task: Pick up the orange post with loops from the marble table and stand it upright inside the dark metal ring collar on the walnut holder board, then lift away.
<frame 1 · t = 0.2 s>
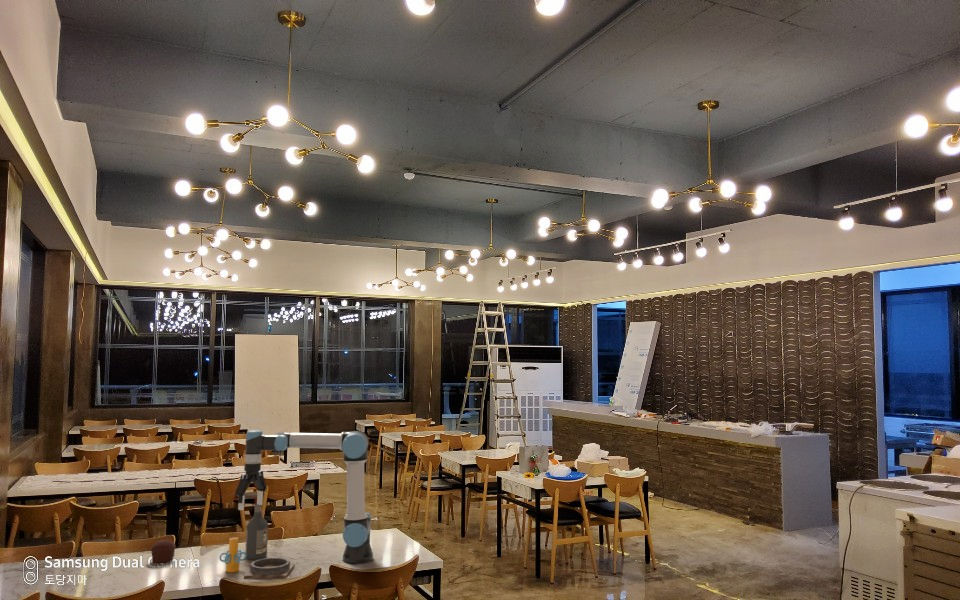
hand: (250, 507, 328), 29 cm above the table, fingers open, 13 cm apart
holder: (269, 571, 320), on the table
orange post with loops: (232, 571, 321), on the table
liquor: (256, 557, 344), on the table
muffin: (162, 561, 335), on the table
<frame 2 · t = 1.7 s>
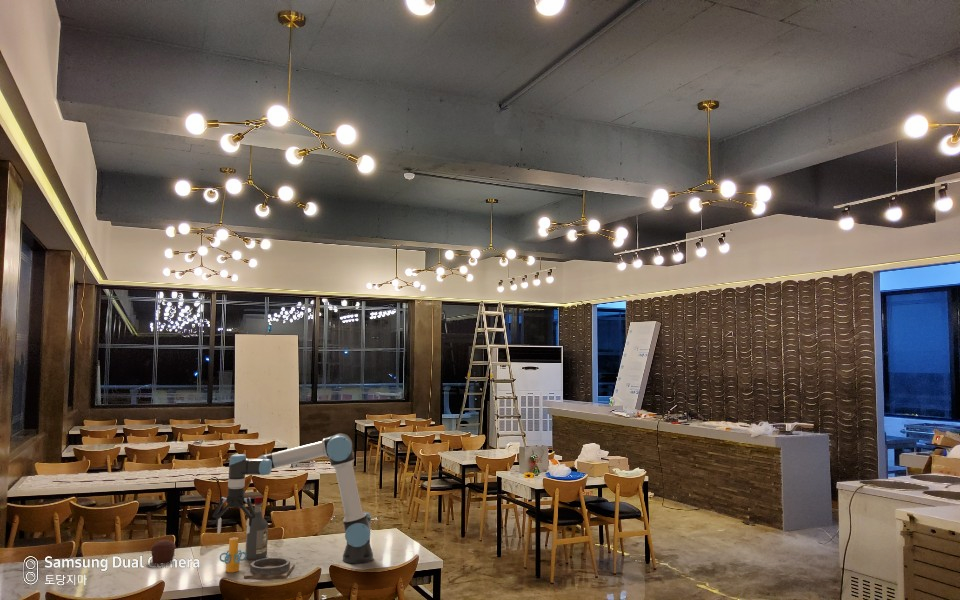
hand: (233, 532, 323), 18 cm above the table, fingers open, 13 cm apart
nothing on the table moved.
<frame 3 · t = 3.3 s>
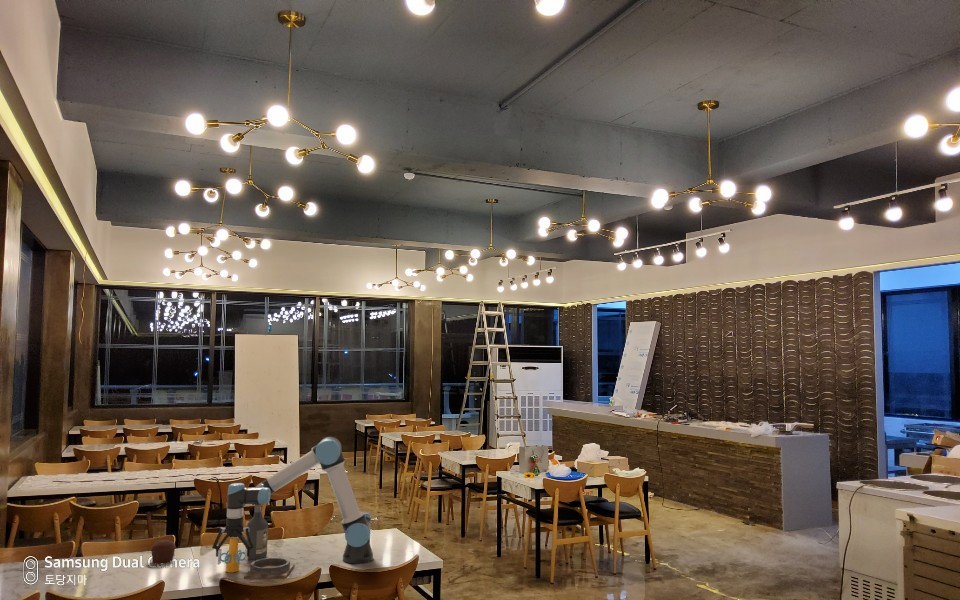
hand: (232, 563, 321), 3 cm above the table, fingers closed on orange post with loops, 12 cm apart
orange post with loops: (232, 571, 321), on the table, touching gripper
everything else where it was.
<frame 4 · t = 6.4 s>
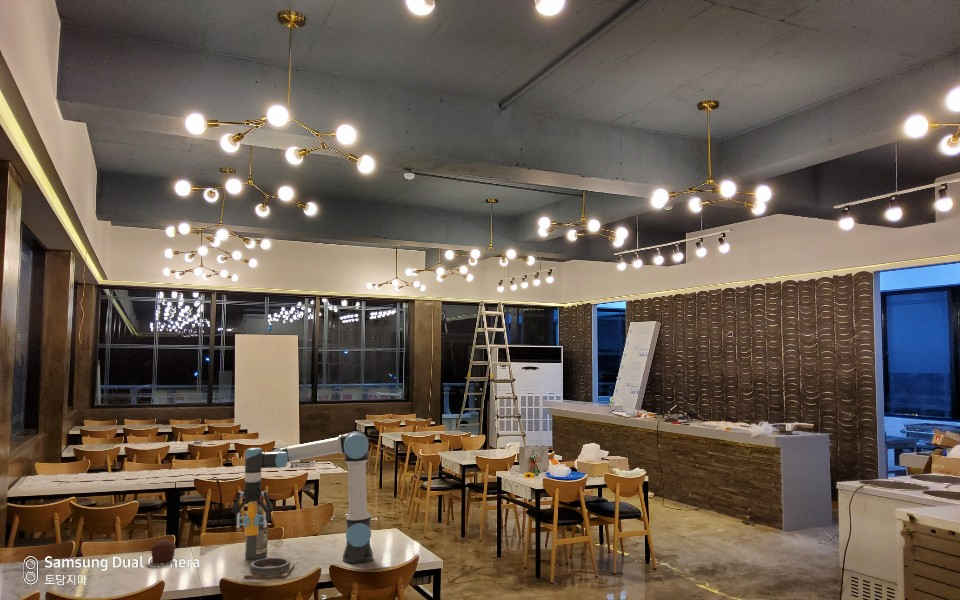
hand: (251, 527, 323), 20 cm above the table, fingers closed on orange post with loops, 12 cm apart
orange post with loops: (251, 534, 322), point 17 cm above the table, touching gripper
everything else where it was.
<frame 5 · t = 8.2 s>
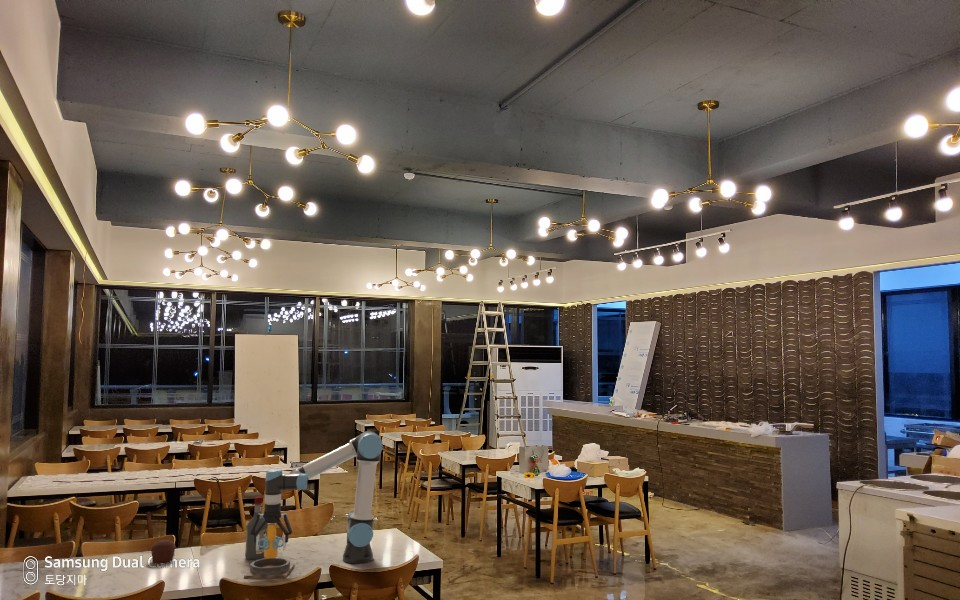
hand: (270, 549, 321), 10 cm above the table, fingers closed on orange post with loops, 12 cm apart
orange post with loops: (270, 557, 321), point 7 cm above the table, touching gripper
everything else where it was.
when the fingers open (6 cm above the table, at t = 9.8 s): orange post with loops drops 1 cm, resting on holder.
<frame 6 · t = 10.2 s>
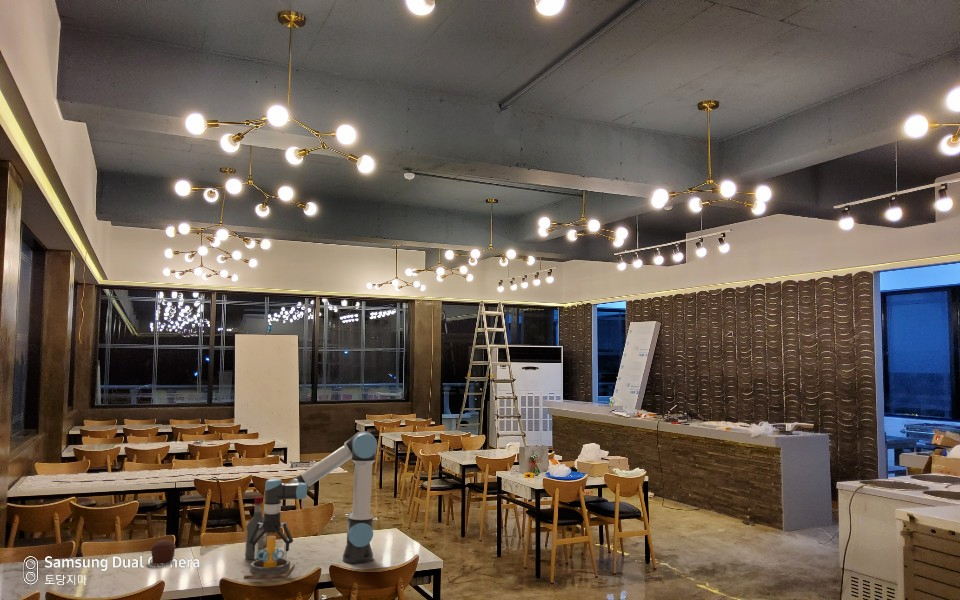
hand: (270, 558, 321), 6 cm above the table, fingers open, 13 cm apart
orange post with loops: (270, 569, 320), point 1 cm above the table, touching holder
everything else where it was.
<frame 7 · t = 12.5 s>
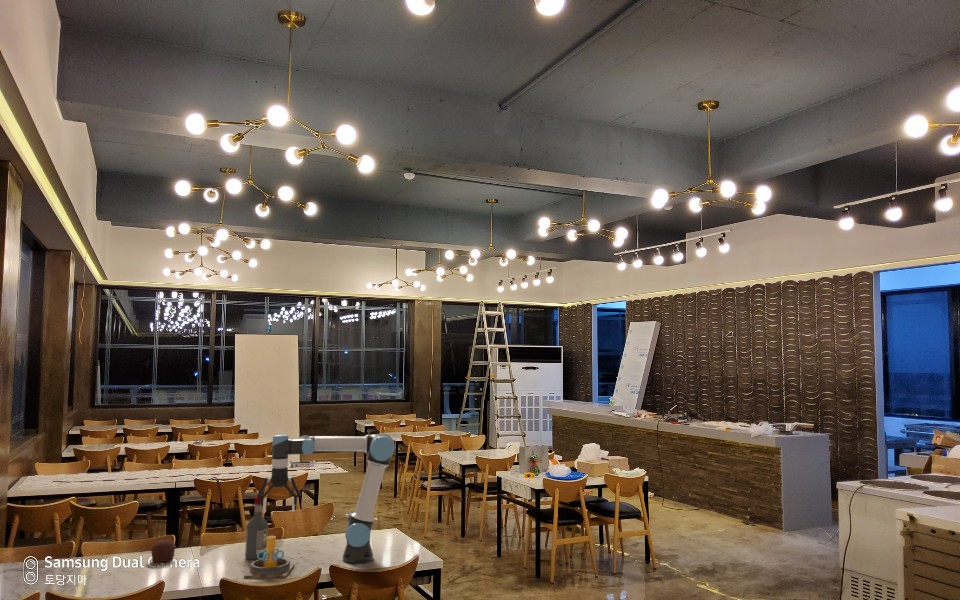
hand: (278, 512, 326), 27 cm above the table, fingers open, 13 cm apart
nothing on the table moved.
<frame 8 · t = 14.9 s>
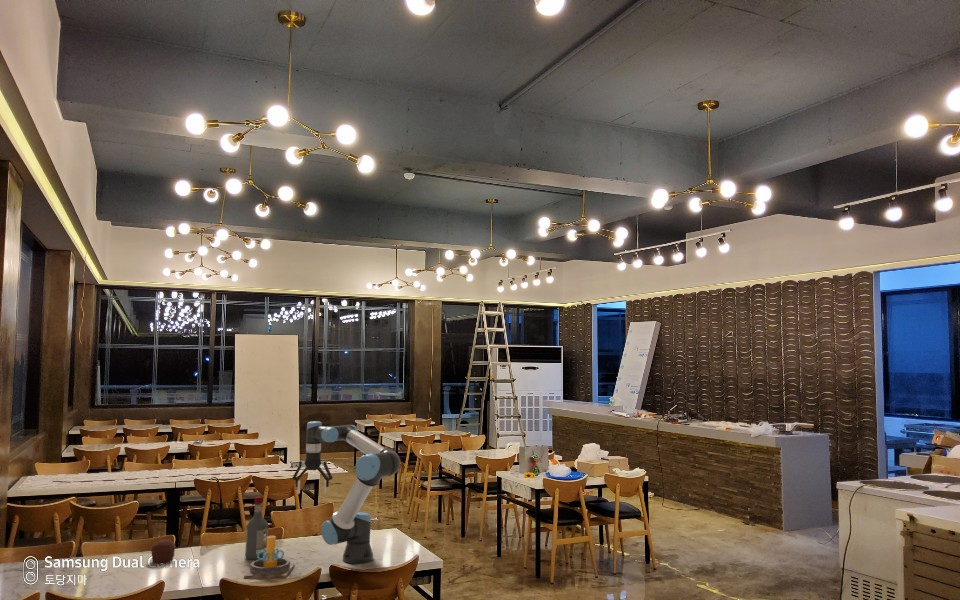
hand: (311, 493, 349), 32 cm above the table, fingers open, 13 cm apart
nothing on the table moved.
at the end: orange post with loops 0.0 cm off-centre on the holder, point 1.0 cm above the holder's base; orange post with loops tilted 0°; the gripper is holding nothing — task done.
